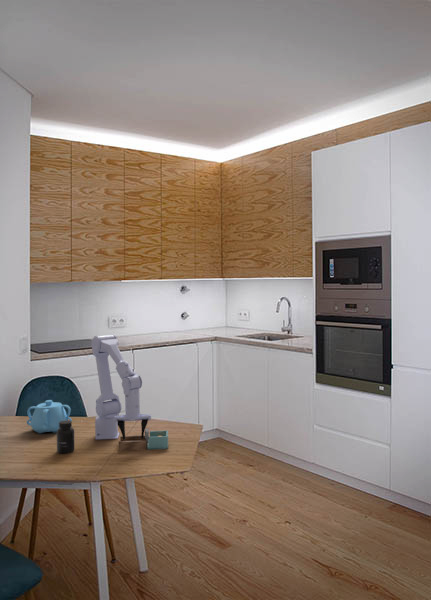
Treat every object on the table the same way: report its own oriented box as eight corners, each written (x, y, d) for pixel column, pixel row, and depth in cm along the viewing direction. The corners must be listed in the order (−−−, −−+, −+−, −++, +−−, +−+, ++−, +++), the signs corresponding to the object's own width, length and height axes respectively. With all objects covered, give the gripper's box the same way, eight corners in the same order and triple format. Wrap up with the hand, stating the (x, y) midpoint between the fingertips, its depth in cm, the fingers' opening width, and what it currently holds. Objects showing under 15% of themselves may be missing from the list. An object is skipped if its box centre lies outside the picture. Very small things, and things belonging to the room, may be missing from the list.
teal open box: (147, 449, 207) (147, 437, 207) (148, 443, 215) (148, 431, 215) (167, 448, 208) (167, 436, 208) (168, 442, 216) (167, 430, 216)
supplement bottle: (58, 455, 202) (57, 425, 202) (55, 450, 208) (54, 421, 208) (76, 452, 205) (75, 422, 205) (72, 447, 211) (71, 418, 211)
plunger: (145, 443, 209) (144, 432, 208) (145, 439, 213) (145, 428, 213) (148, 443, 209) (147, 432, 208) (148, 439, 214) (148, 428, 213)
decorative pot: (40, 438, 225) (39, 407, 224) (24, 430, 236) (23, 400, 236) (74, 429, 236) (73, 400, 235) (57, 422, 248) (56, 394, 247)
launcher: (118, 450, 206) (118, 442, 206) (120, 444, 214) (120, 435, 214) (146, 449, 207) (146, 441, 207) (147, 443, 215) (147, 434, 215)
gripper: (113, 408, 205) (114, 442, 206) (150, 406, 206) (150, 440, 207) (115, 403, 212) (116, 436, 213) (150, 402, 213) (151, 435, 214)
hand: (133, 438), depth 211 cm, fingers open, 7 cm apart
